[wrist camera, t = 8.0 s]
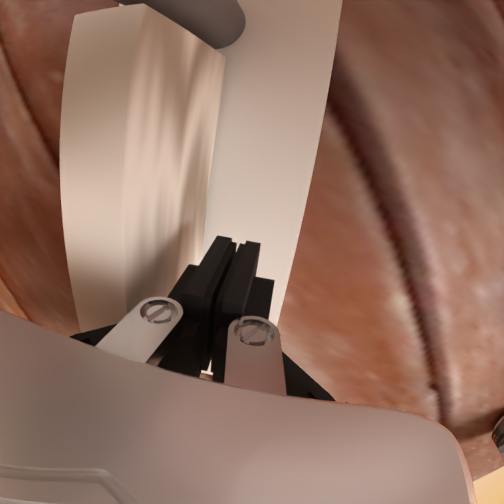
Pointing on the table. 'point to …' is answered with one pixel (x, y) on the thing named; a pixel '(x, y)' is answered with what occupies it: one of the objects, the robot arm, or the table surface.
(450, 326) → the table surface
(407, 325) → the table surface
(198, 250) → the gate
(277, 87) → the base
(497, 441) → the beverage can
